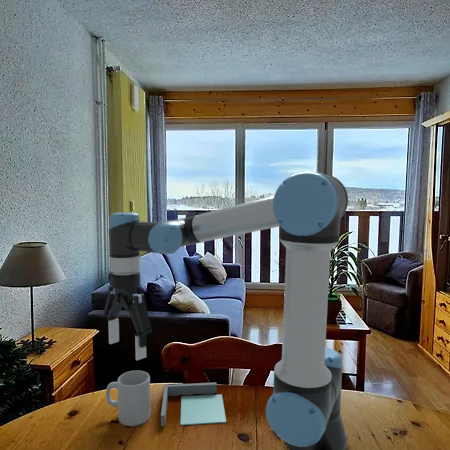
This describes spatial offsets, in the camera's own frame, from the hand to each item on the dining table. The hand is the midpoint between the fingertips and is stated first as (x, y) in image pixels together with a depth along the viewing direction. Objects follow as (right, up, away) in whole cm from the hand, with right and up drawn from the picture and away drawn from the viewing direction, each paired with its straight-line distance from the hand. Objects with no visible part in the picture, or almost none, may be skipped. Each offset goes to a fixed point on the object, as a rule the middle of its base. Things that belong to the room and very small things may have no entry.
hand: (126, 350), depth 99 cm
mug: (0, -19, +2) cm, 19 cm away
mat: (+20, -18, +5) cm, 27 cm away
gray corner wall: (+16, -18, +6) cm, 25 cm away
